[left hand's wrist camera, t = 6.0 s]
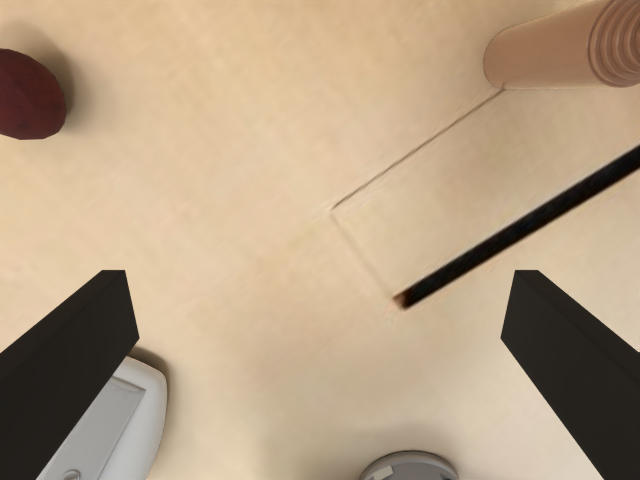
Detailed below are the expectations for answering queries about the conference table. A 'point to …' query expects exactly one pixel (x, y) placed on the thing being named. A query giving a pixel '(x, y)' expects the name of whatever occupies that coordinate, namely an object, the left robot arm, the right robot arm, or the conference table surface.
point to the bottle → (570, 49)
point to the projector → (116, 429)
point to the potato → (28, 98)
